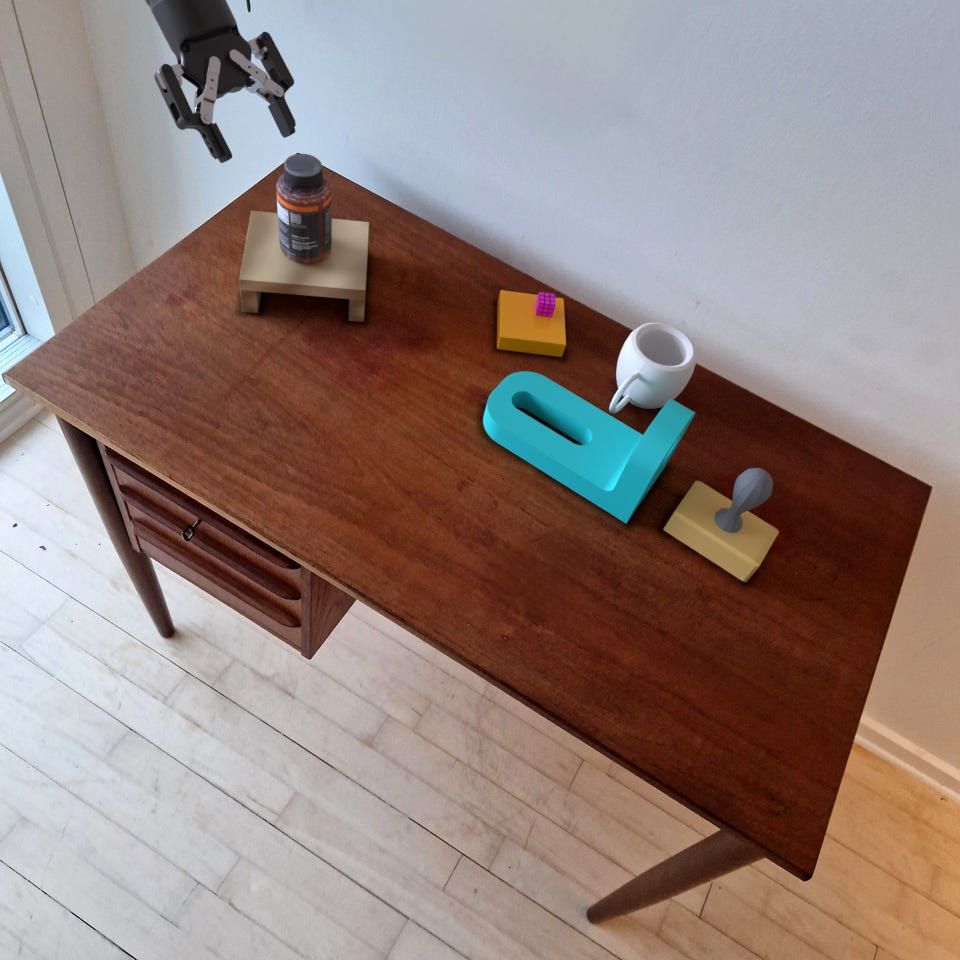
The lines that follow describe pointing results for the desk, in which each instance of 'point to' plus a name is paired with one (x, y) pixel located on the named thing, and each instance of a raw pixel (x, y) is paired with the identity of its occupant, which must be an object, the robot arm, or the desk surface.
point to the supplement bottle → (304, 210)
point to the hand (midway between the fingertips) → (259, 147)
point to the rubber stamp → (727, 523)
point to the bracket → (583, 441)
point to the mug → (653, 366)
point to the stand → (305, 265)
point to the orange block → (531, 323)
